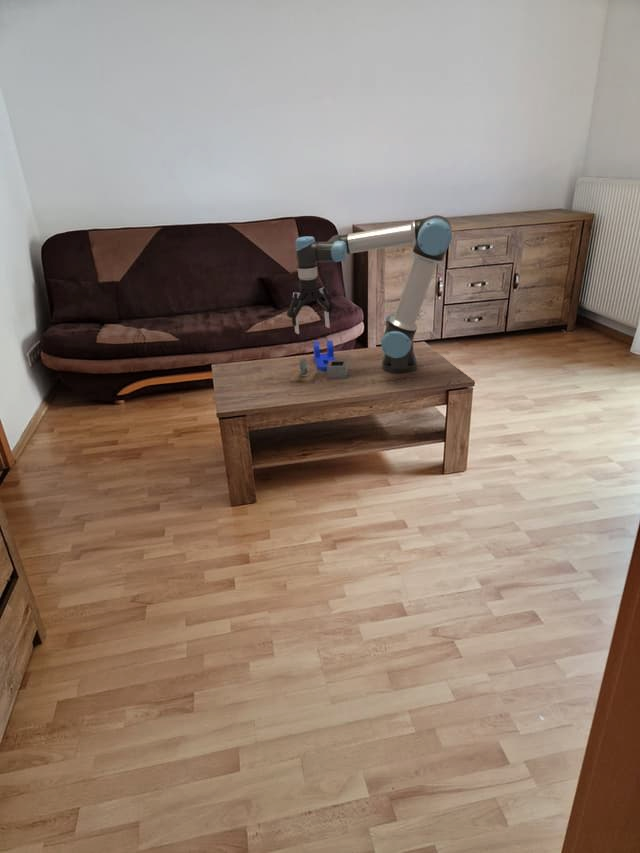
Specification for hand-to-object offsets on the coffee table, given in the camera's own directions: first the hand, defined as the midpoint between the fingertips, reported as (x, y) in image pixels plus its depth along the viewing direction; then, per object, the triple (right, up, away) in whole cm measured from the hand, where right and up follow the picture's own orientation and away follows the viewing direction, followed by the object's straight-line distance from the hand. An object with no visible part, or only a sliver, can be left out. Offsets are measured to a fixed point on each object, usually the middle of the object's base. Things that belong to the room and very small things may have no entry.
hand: (312, 330), depth 233 cm
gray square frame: (+11, -17, +10) cm, 23 cm away
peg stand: (-4, -19, +8) cm, 21 cm away
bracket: (+6, -12, +22) cm, 26 cm away
